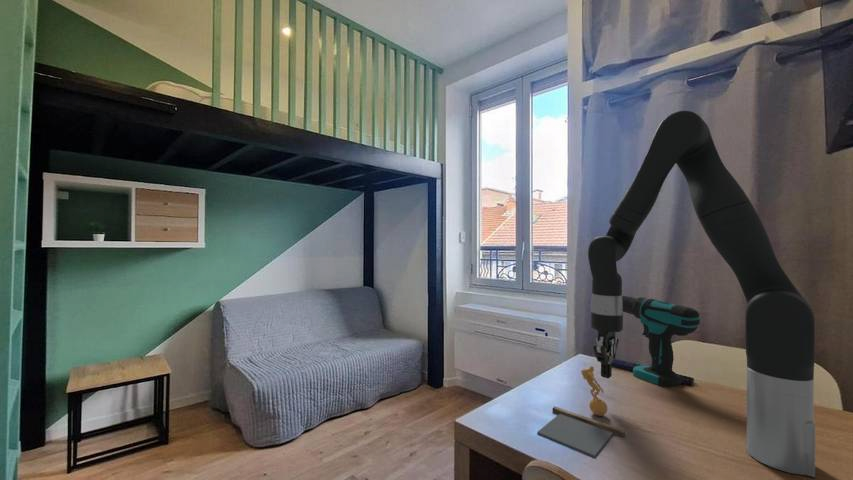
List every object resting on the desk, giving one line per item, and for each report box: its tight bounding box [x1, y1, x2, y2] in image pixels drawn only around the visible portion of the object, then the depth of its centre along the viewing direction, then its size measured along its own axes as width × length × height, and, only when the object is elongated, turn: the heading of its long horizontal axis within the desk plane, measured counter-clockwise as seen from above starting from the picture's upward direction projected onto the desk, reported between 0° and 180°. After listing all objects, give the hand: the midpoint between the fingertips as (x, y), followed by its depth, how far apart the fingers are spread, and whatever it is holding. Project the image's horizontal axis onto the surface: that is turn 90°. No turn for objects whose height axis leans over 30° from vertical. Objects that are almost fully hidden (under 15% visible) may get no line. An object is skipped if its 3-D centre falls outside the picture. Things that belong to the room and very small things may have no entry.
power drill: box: [622, 295, 701, 389], centre depth 111 cm, size 26×9×25 cm, turn 25°
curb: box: [552, 405, 626, 438], centre depth 82 cm, size 16×1×1 cm, turn 46°
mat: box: [537, 414, 614, 458], centre depth 77 cm, size 12×12×1 cm
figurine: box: [580, 365, 609, 417], centre depth 85 cm, size 8×6×12 cm
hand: (606, 376), depth 92 cm, fingers closed
